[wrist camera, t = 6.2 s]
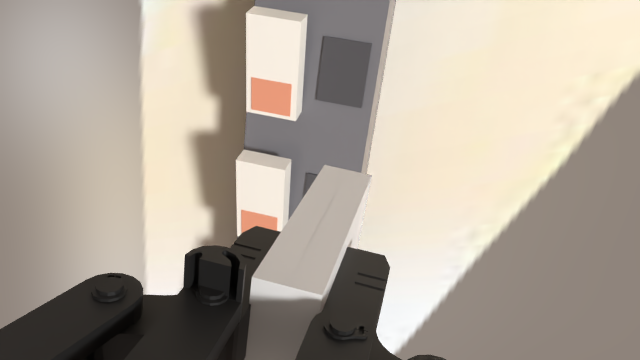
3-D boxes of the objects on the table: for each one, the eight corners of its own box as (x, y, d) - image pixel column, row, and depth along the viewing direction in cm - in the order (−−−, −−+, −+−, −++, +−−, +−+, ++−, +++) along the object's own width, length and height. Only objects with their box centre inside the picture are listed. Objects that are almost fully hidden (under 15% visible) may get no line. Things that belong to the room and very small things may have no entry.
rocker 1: (254, 5, 36) (245, 13, 35) (307, 14, 36) (300, 22, 34) (253, 102, 40) (246, 112, 39) (301, 111, 40) (295, 121, 38)
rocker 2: (243, 149, 40) (235, 160, 39) (291, 159, 40) (284, 170, 38) (244, 224, 44) (236, 236, 43) (287, 234, 44) (281, 247, 42)
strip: (287, -164, 37) (265, -179, 33) (421, -150, 36) (416, -163, 32) (244, 322, 53) (226, 352, 49) (336, 346, 52) (326, 379, 47)
